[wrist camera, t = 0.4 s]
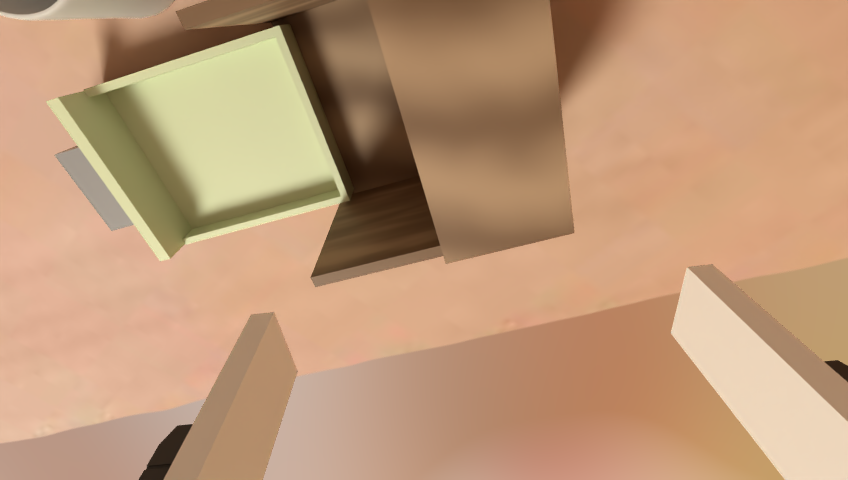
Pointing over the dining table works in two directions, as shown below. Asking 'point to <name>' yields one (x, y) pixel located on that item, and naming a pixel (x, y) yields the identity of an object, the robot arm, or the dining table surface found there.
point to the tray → (205, 143)
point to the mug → (81, 9)
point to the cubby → (429, 123)
